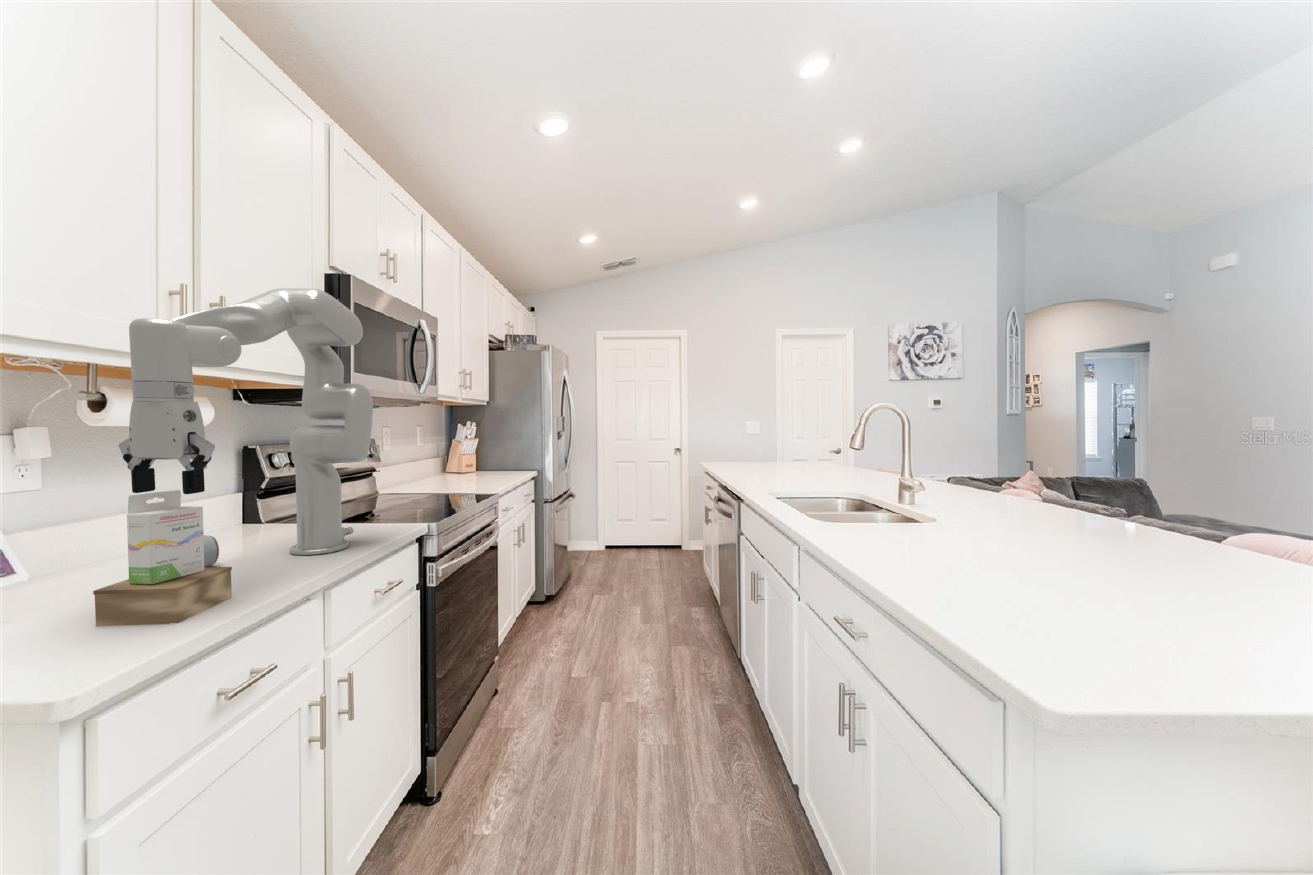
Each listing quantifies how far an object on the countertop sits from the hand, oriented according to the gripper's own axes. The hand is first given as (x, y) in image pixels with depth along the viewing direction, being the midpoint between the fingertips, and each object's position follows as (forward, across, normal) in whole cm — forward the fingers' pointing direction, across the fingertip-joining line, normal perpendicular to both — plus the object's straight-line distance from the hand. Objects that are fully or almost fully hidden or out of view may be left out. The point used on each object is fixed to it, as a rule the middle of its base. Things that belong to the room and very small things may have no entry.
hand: (168, 492), depth 88 cm
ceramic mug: (+21, +22, -21) cm, 37 cm away
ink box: (+15, 0, +1) cm, 15 cm away
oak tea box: (+21, 0, +1) cm, 21 cm away
